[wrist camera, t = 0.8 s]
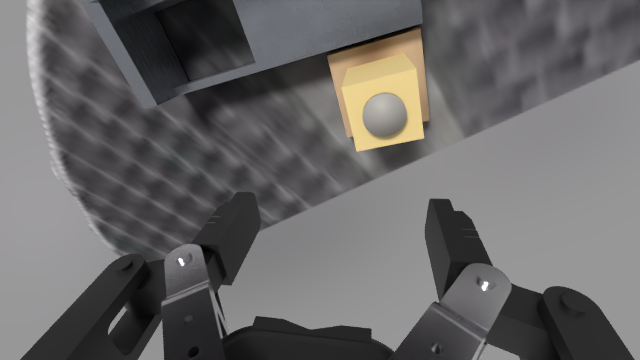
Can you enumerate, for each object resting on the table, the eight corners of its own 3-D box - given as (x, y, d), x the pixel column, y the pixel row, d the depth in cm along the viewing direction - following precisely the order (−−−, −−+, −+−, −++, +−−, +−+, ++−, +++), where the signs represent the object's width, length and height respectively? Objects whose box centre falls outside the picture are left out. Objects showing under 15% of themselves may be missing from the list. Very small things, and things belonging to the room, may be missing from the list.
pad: (417, 27, 24) (420, 28, 23) (426, 115, 28) (429, 120, 27) (328, 53, 26) (326, 56, 25) (348, 132, 30) (347, 137, 29)
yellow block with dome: (404, 53, 24) (417, 70, 18) (411, 108, 27) (425, 141, 20) (347, 68, 26) (340, 89, 19) (358, 120, 28) (356, 154, 21)
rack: (403, -116, 20) (418, -166, 14) (417, 21, 24) (433, 25, 18) (133, -1, 26) (66, -2, 21) (181, 92, 31) (136, 112, 25)
